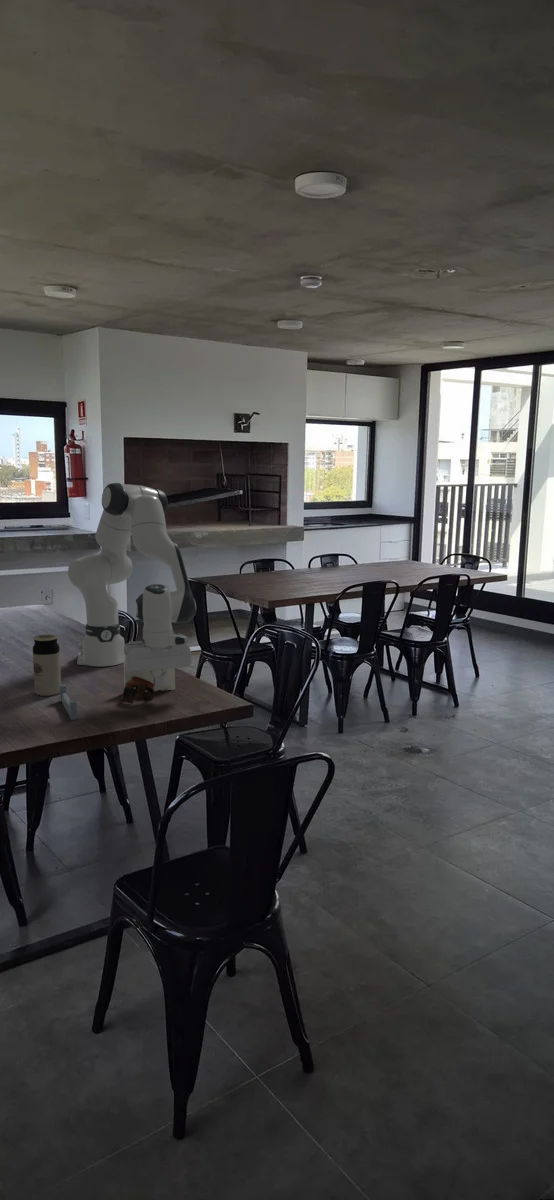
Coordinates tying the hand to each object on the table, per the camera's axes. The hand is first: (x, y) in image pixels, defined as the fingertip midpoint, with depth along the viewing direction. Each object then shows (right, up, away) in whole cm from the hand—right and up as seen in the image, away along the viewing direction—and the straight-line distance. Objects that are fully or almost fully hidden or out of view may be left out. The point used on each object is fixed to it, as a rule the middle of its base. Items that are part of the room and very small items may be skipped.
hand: (158, 683), depth 245 cm
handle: (-25, -7, -10) cm, 28 cm away
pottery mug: (-6, -5, 0) cm, 8 cm away
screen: (-4, -3, +10) cm, 11 cm away
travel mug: (-36, -4, +7) cm, 37 cm away
